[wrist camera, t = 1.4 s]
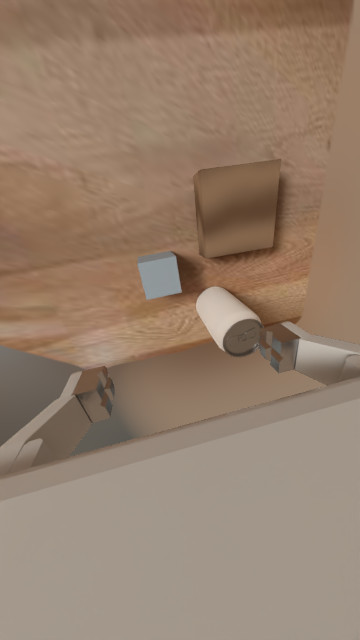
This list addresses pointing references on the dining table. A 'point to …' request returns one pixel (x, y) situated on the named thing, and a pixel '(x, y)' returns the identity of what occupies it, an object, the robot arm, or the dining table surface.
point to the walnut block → (236, 207)
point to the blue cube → (159, 274)
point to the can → (229, 322)
